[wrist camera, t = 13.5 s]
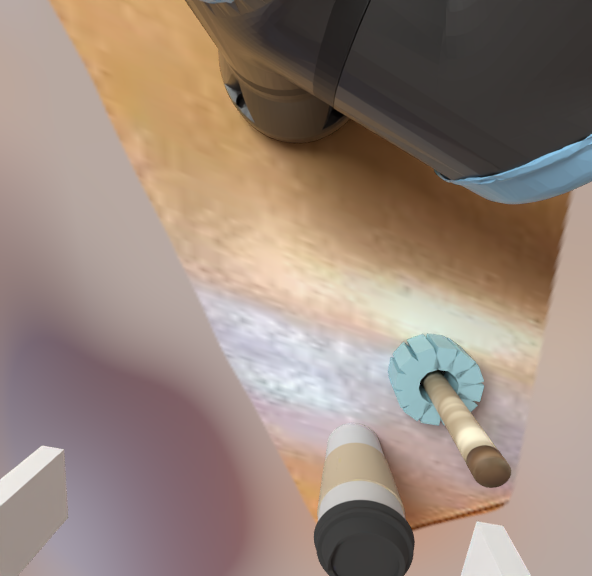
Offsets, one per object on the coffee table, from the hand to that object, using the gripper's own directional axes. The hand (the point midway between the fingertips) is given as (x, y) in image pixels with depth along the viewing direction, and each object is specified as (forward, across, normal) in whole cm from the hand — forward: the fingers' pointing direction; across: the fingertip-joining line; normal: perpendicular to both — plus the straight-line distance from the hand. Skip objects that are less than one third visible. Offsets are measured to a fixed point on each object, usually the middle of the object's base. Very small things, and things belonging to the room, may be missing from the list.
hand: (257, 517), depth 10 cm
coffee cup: (+29, +8, -19) cm, 35 cm away
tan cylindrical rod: (+29, +15, -7) cm, 33 cm away
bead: (+29, +15, -7) cm, 33 cm away
